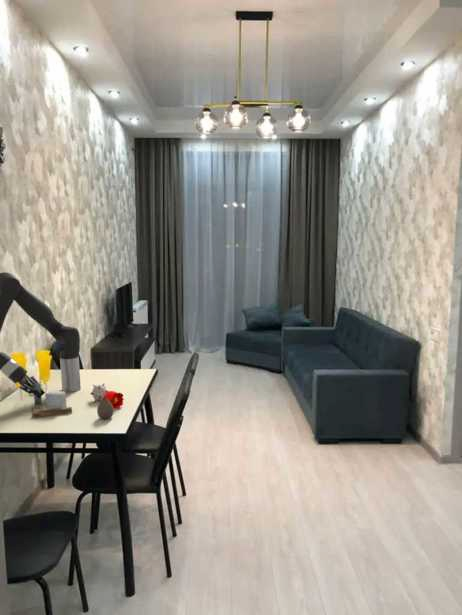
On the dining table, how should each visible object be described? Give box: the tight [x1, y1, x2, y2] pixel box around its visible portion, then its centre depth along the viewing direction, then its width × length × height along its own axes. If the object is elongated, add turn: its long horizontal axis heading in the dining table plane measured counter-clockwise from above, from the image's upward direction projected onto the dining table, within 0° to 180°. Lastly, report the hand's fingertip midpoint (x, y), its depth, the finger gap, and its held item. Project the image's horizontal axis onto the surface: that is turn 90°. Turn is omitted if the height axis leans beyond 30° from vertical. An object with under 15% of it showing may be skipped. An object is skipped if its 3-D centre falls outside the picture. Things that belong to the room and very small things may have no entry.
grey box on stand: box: [32, 382, 73, 418], centre depth 231 cm, size 18×17×10 cm
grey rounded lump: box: [96, 398, 115, 421], centre depth 218 cm, size 7×7×9 cm
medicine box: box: [44, 390, 68, 410], centre depth 228 cm, size 8×4×9 cm, turn 84°
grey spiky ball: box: [90, 383, 109, 403], centre depth 242 cm, size 9×8×10 cm
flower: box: [103, 390, 125, 410], centre depth 233 cm, size 8×8×8 cm
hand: (42, 395), depth 236 cm, fingers closed on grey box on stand, 3 cm apart
